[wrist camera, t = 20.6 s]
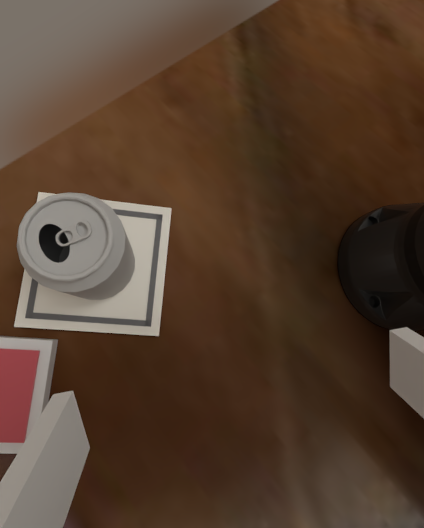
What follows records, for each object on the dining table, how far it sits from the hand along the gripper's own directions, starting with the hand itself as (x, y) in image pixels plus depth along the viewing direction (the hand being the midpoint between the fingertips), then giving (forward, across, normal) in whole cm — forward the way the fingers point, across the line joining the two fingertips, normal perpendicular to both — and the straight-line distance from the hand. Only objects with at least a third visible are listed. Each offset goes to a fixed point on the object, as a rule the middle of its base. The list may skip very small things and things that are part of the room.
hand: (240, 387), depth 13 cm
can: (+22, -11, +2) cm, 25 cm away
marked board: (+23, -11, +2) cm, 25 cm away
